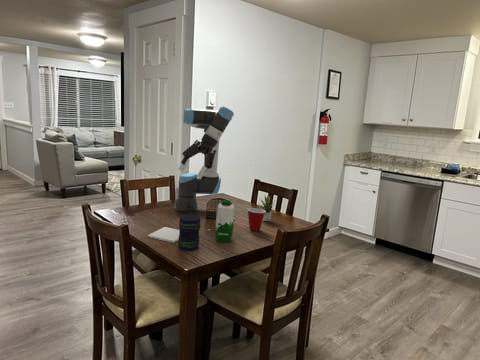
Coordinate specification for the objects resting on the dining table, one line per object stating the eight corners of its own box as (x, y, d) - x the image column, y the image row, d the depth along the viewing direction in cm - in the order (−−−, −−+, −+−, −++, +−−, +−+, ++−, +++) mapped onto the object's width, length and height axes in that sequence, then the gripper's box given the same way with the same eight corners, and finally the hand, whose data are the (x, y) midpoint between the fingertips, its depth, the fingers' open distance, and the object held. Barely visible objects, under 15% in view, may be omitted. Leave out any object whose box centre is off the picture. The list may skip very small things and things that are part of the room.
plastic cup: (266, 229, 202) (268, 209, 199) (260, 234, 192) (262, 213, 189) (249, 225, 205) (250, 205, 203) (242, 230, 196) (244, 209, 193)
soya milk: (232, 237, 184) (235, 200, 180) (231, 243, 175) (234, 204, 171) (215, 235, 184) (218, 199, 180) (214, 242, 175) (216, 203, 171)
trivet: (164, 228, 188) (164, 226, 188) (189, 234, 183) (189, 232, 183) (148, 236, 174) (148, 235, 174) (174, 242, 169) (174, 241, 169)
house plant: (249, 216, 223) (251, 191, 220) (269, 216, 227) (272, 192, 224) (257, 224, 209) (260, 197, 206) (278, 223, 214) (281, 197, 211)
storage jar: (192, 242, 172) (194, 213, 170) (202, 249, 165) (204, 218, 162) (174, 245, 166) (175, 215, 164) (184, 252, 159) (185, 221, 156)
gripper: (200, 130, 156) (176, 170, 158) (231, 148, 176) (210, 184, 178) (190, 124, 161) (167, 163, 163) (221, 142, 181) (201, 177, 183)
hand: (189, 174), depth 170 cm, fingers open, 13 cm apart
